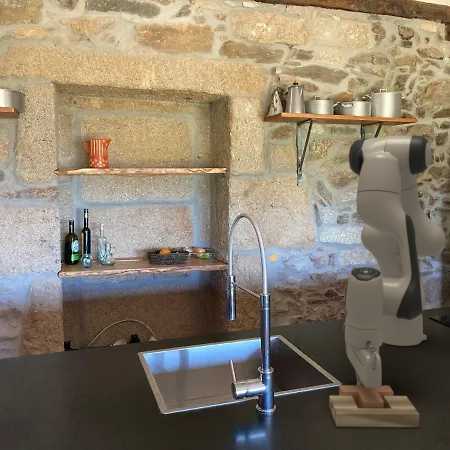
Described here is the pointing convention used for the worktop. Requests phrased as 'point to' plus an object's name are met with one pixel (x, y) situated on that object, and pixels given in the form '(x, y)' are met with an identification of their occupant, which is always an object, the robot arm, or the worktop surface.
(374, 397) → the t block
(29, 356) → the worktop surface
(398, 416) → the dock
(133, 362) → the worktop surface
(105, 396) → the worktop surface
